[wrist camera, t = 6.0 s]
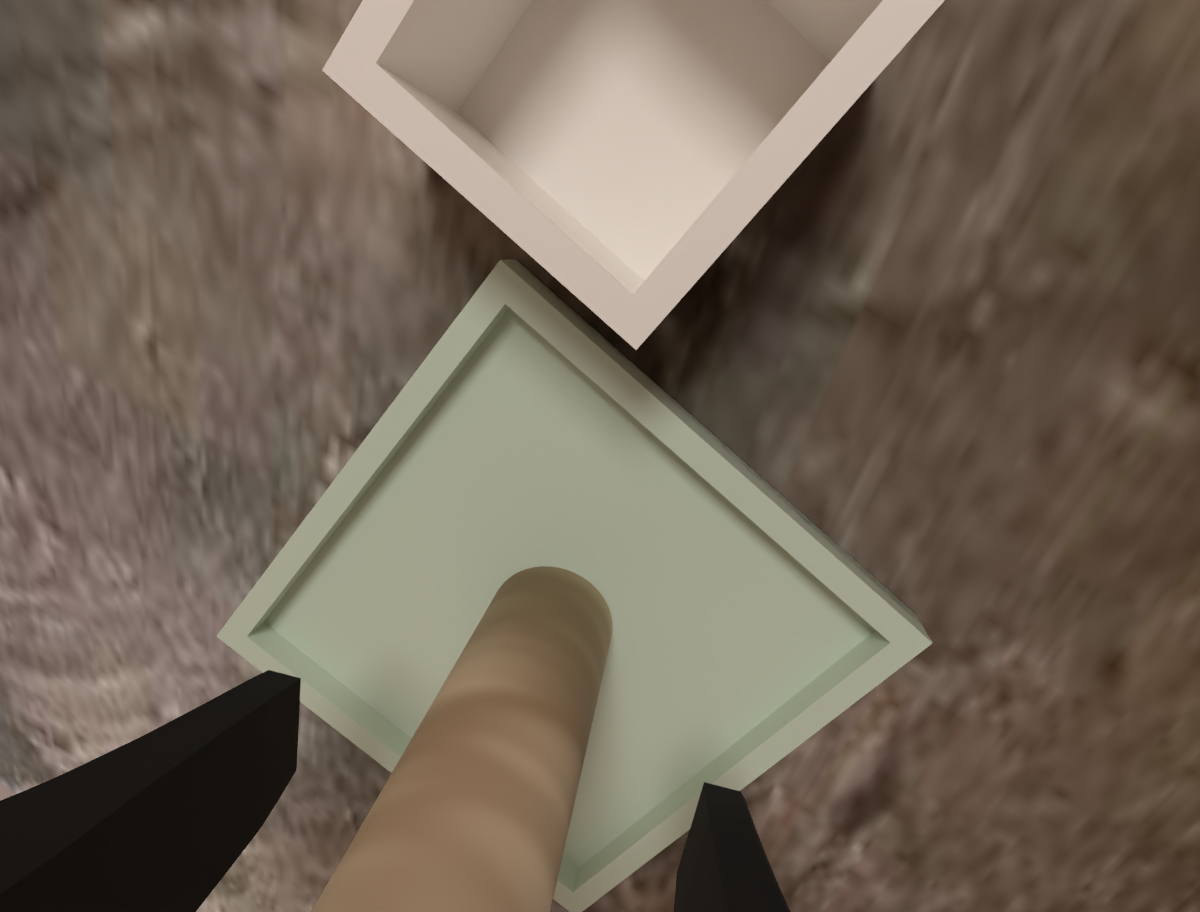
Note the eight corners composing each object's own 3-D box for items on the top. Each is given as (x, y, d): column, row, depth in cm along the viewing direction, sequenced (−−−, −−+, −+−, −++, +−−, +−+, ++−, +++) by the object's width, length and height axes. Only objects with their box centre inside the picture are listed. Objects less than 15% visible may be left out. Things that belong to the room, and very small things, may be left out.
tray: (914, 613, 15) (932, 643, 14) (582, 877, 19) (575, 916, 18) (516, 259, 14) (500, 259, 13) (247, 611, 18) (216, 636, 17)
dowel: (621, 580, 15) (526, 995, 7) (602, 686, 16) (497, 1166, 8) (497, 554, 16) (257, 924, 7) (485, 660, 17) (261, 1097, 8)
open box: (876, 68, 12) (958, -17, 8) (651, 324, 14) (635, 350, 10) (625, -180, 12) (590, -390, 8) (427, 122, 14) (322, 69, 10)
